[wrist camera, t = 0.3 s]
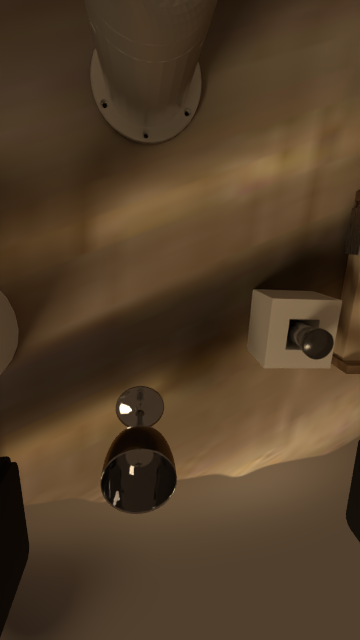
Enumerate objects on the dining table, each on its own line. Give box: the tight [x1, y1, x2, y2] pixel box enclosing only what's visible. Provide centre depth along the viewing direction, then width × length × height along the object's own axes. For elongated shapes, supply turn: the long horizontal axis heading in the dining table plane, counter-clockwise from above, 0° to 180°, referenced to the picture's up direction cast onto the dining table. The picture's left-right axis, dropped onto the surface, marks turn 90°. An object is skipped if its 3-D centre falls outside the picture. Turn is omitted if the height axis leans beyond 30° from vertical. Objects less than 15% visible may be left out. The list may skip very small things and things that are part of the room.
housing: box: [247, 289, 342, 368], centre depth 43 cm, size 9×9×7 cm
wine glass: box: [101, 387, 177, 514], centre depth 40 cm, size 8×8×15 cm
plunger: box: [287, 319, 334, 360], centre depth 39 cm, size 4×4×7 cm
